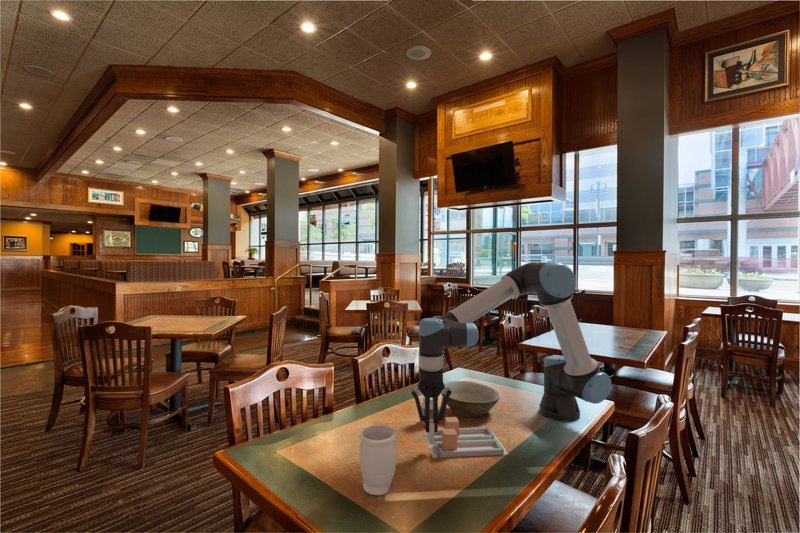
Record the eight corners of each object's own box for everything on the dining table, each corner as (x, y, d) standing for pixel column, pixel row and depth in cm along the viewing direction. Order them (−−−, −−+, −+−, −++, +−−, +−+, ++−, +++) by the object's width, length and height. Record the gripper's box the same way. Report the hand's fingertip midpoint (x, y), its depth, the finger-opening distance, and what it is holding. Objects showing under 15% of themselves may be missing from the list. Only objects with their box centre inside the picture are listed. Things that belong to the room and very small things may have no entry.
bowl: (509, 412, 156) (510, 388, 155) (481, 432, 138) (481, 405, 137) (460, 398, 171) (460, 376, 171) (428, 415, 153) (428, 390, 153)
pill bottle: (441, 427, 142) (441, 398, 142) (427, 431, 139) (427, 401, 138) (430, 421, 147) (430, 393, 147) (417, 425, 144) (417, 396, 143)
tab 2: (454, 447, 124) (454, 428, 124) (457, 453, 120) (457, 434, 120) (442, 447, 123) (442, 429, 123) (444, 453, 119) (444, 434, 119)
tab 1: (456, 434, 133) (456, 416, 133) (459, 439, 129) (459, 421, 129) (445, 434, 133) (445, 417, 132) (447, 439, 129) (447, 422, 128)
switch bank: (492, 435, 136) (492, 426, 135) (508, 458, 120) (508, 449, 120) (425, 438, 134) (424, 429, 134) (432, 462, 118) (432, 452, 118)
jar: (359, 476, 110) (359, 425, 110) (395, 474, 111) (395, 423, 111) (358, 499, 100) (358, 442, 99) (398, 497, 100) (398, 441, 100)
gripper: (448, 364, 125) (449, 435, 125) (409, 365, 124) (409, 437, 124) (454, 370, 117) (454, 446, 118) (411, 371, 116) (412, 448, 117)
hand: (431, 441), depth 121 cm, fingers closed
